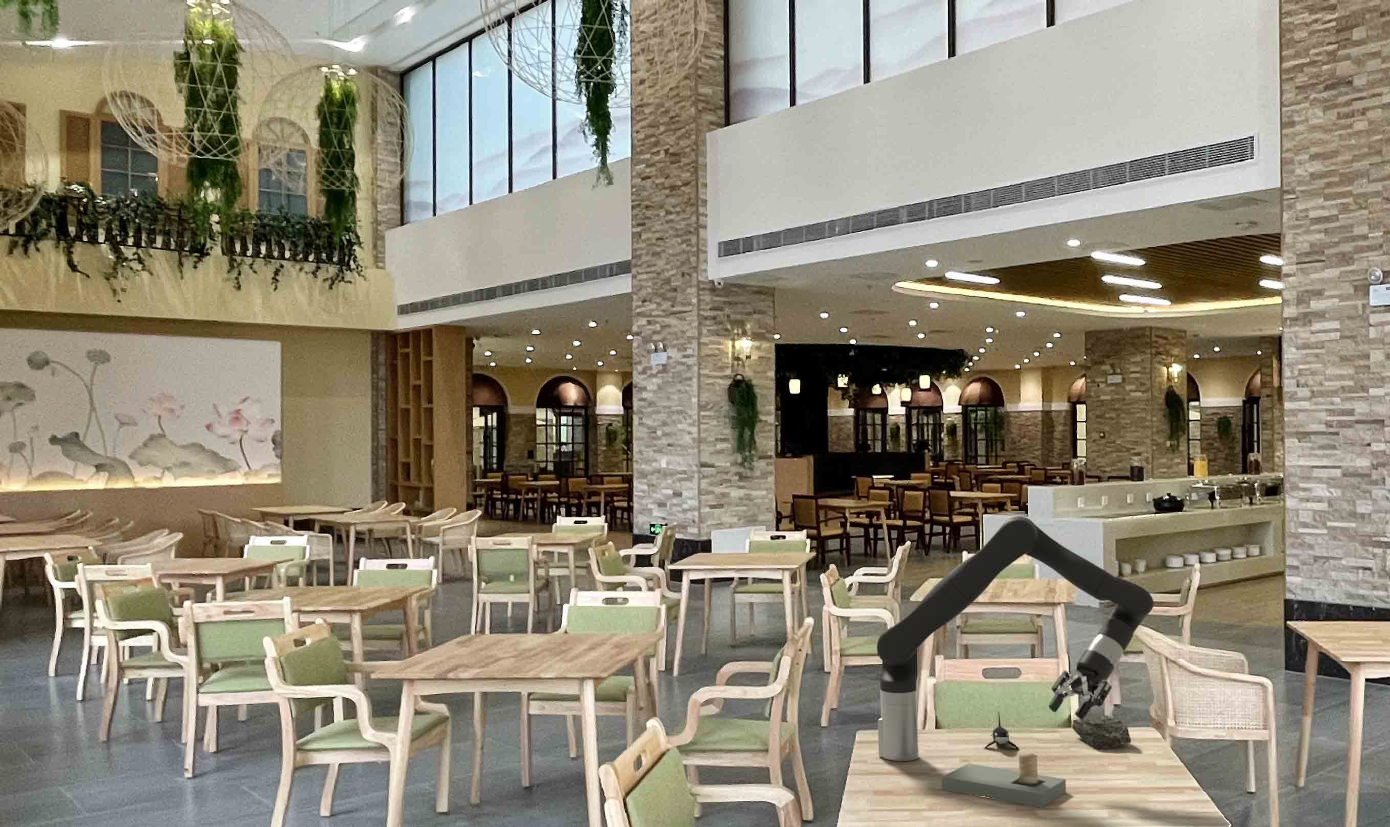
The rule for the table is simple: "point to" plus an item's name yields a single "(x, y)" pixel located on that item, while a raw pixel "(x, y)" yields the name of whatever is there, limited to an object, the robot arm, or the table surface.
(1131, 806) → the table surface
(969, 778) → the board
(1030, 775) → the peg
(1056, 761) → the table surface
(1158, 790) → the table surface
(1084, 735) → the rock
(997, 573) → the robot arm
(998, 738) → the toy
